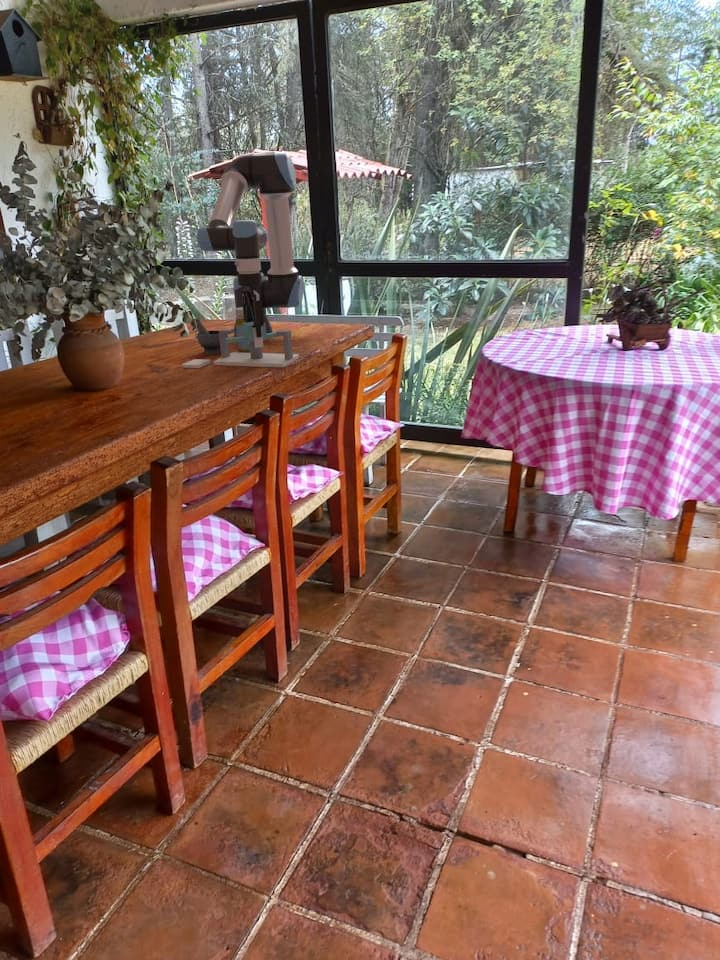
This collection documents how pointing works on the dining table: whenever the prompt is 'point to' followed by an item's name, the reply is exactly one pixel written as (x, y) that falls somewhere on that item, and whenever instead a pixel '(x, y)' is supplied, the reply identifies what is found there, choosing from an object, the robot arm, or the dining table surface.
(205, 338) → the mortar and pestle
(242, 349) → the bottle
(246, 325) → the teal cube with tabs
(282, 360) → the white and grey stand
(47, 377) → the dining table surface
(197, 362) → the tile
